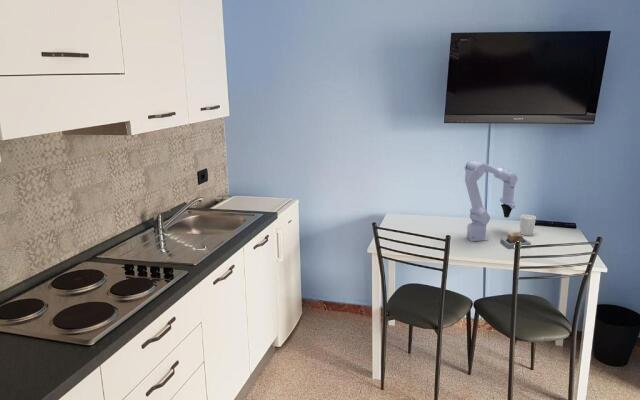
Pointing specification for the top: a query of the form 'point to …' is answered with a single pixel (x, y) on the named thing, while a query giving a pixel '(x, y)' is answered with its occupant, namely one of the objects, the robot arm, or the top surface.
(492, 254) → the top surface
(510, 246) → the bay
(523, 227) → the white cup
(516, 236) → the tan rounded lump
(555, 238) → the top surface
